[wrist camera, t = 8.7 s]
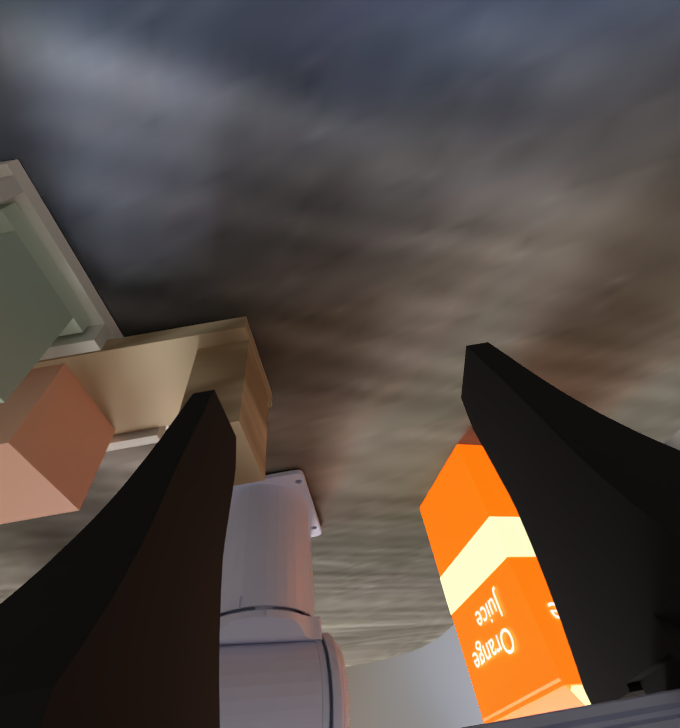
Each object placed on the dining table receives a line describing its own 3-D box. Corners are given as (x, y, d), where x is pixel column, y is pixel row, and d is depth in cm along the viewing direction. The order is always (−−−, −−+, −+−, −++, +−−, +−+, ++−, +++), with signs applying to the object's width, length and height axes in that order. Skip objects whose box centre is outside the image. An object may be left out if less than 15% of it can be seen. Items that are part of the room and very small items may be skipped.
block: (115, 430, 22) (79, 510, 18) (28, 445, 22) (-26, 528, 18) (65, 363, 19) (8, 442, 15) (-37, 380, 19) (-120, 464, 15)
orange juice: (417, 507, 35) (526, 875, 19) (455, 443, 29) (648, 877, 14) (494, 509, 36) (652, 848, 21) (543, 448, 31) (803, 840, 16)
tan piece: (246, 316, 20) (232, 406, 14) (272, 395, 23) (269, 490, 18) (-28, 363, 19) (-138, 470, 14) (40, 435, 23) (-28, 542, 18)
